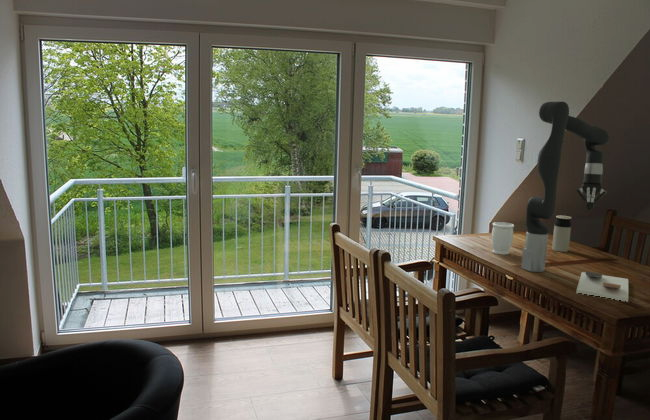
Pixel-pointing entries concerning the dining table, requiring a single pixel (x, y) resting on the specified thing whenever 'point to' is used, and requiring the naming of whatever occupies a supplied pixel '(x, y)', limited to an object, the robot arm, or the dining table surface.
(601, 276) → the tile one dot
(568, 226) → the travel mug
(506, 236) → the jar
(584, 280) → the board
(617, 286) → the tile two dots
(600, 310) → the dining table surface
